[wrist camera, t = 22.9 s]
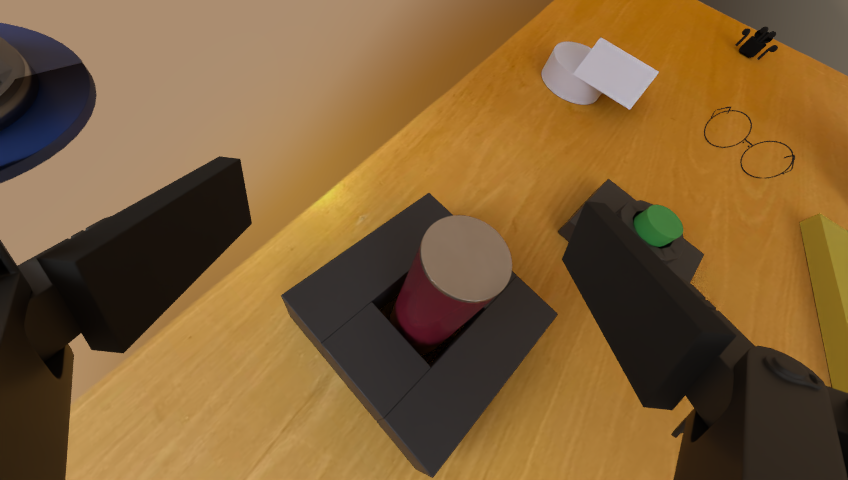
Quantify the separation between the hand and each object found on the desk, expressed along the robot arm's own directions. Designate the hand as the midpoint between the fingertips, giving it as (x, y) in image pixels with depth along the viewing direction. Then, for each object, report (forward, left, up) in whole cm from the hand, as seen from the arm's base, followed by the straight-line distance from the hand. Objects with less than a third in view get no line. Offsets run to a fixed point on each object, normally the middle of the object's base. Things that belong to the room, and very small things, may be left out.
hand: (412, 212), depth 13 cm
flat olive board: (+36, +40, -15) cm, 56 cm away
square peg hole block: (+2, +2, -15) cm, 15 cm away
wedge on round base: (-6, +44, -15) cm, 47 cm away
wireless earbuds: (+8, +92, -15) cm, 94 cm away
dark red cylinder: (+2, +2, -15) cm, 15 cm away
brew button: (+11, +24, -11) cm, 29 cm away
